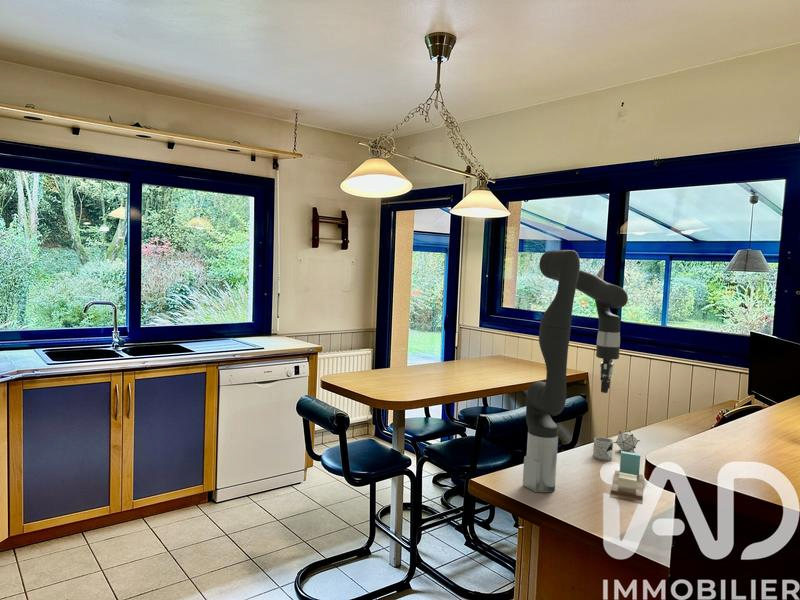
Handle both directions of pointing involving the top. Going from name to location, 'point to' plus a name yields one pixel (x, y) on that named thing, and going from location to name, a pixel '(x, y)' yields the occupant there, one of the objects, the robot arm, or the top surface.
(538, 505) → the top surface
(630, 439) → the game die
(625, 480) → the ash cube
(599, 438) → the mug
